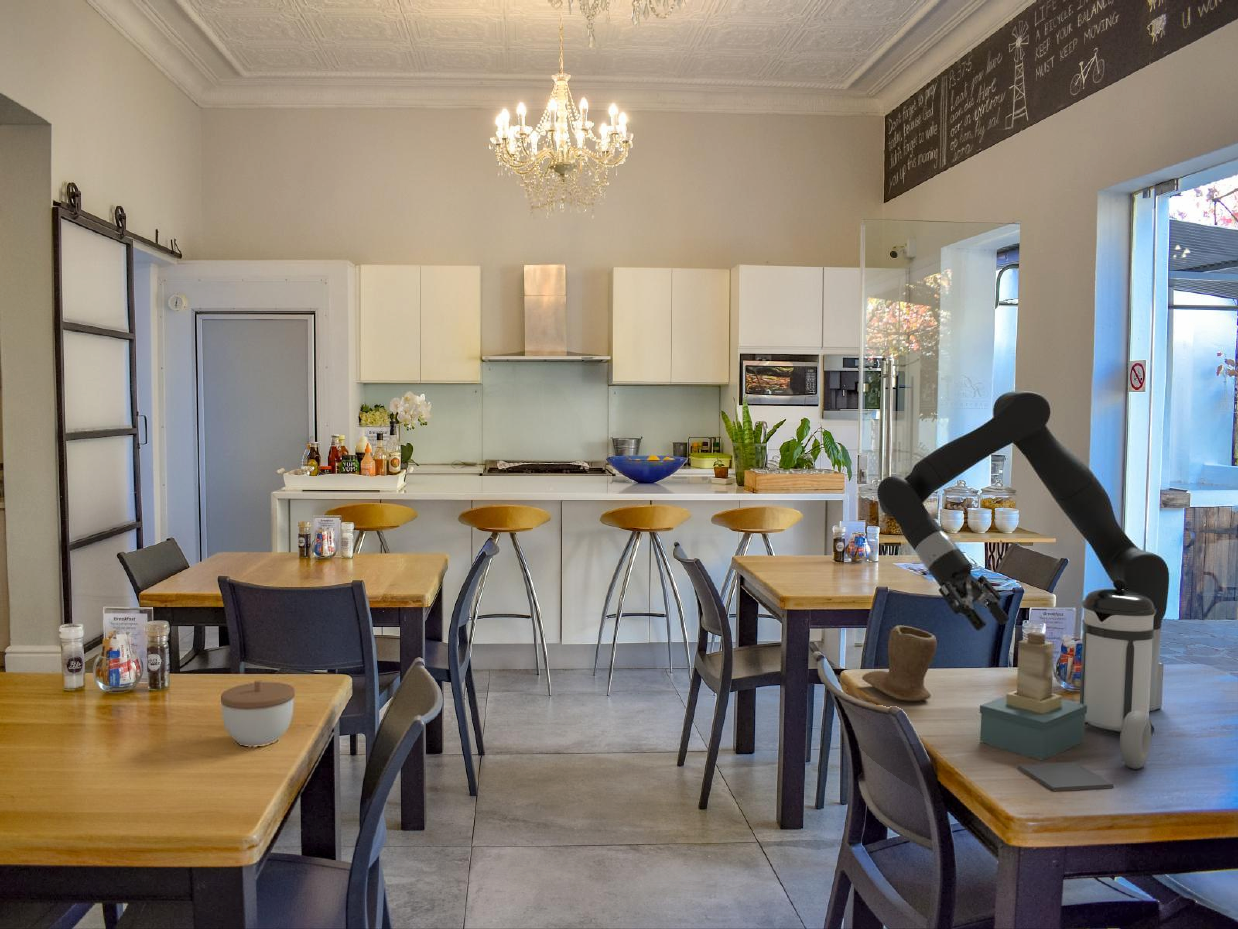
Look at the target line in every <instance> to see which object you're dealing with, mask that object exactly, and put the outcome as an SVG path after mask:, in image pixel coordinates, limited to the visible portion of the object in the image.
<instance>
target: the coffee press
mask: <svg viewBox="0 0 1238 929" xmlns="http://www.w3.org/2000/svg"><path fill="white" fill-rule="evenodd" d="M1112 585H1113V588H1115V589H1112V588H1105V589H1097V590H1093V591H1090V592H1089V593H1088V594H1087V595H1086V596H1085V598H1084V600H1082V601H1081V606H1082V609H1083V619H1082V620H1081V631H1082V642H1081V644H1082V645H1081V662H1080V663H1081V665H1080V666H1081V667H1080V688H1079V690H1080V692H1079V703H1080V704H1084V705H1087V713H1086V714H1085V726H1087V725H1092V726H1094V727H1096V728H1097V727H1098V728H1100V729H1105V730H1109V731H1110V730H1111V731H1117V732H1118V733H1120V735H1121V728H1122V724H1123V721H1124V718H1125V717H1126V715H1127V714H1128V713H1129V712H1132V711H1141V712H1143V713H1144V714H1145V715H1146V716H1147V717H1148V719H1149V720H1150V711H1149V701H1150V681H1151V660H1152V639H1153V638H1154V627H1153V619H1154V615H1155V614H1156V608H1155V607H1154V606H1153V603H1152V601H1151V600H1150V599H1149V598H1148V597H1146V596H1145V595H1142V594H1140V593H1136V592H1132V591H1126V590H1123V589H1124V588H1125V587H1126V582H1125V581H1124V580H1123V579H1120V578H1119V579H1116V580H1115V581H1114V582H1112ZM1150 726H1151V734H1152V733H1154V732H1155V726H1154V725H1153V724H1152V722H1151V721H1150Z"/></svg>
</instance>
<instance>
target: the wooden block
mask: <svg viewBox="0 0 1238 929" xmlns="http://www.w3.org/2000/svg"><path fill="white" fill-rule="evenodd" d="M1054 644H1055V642H1052V641H1051V642H1050V641H1047V640H1046V634H1044V633H1041V632H1028V633H1027V639H1023V640H1019V641H1018V647H1017V648H1018V649H1017V650H1018V651H1017V674H1016V675H1017V676H1016V690H1017V695H1019V696H1023V697H1027V698H1031V699H1035V700H1039V701H1043V700H1046V699H1048V698H1051V697H1052V694H1053V677H1054V654H1055V653H1054V652H1055V651H1054V649H1055V645H1054Z"/></svg>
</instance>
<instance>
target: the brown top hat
mask: <svg viewBox="0 0 1238 929" xmlns="http://www.w3.org/2000/svg"><path fill="white" fill-rule="evenodd" d="M888 637H889V638H888V646H887V653H888V654H887V656H888V664H889V665H888V666H889V668H888V669H889V670H888V671H886V670H885V671H884V670H874V671H869V672H867V673H864V674H863V675H862V677H861V679H862V681H865V683H867V684H869V685H870V686H871V687H874V689H877V690H879V691H880V692H882V693H883V694H886V695H887V696H890V697H892V698H894V699H897V700H901V701H907V702H918V701H919V702H920V701H925V700H928V699H930V698H931V697H932V696H931V693H930V692H929V690H928V689H927V688H926V686H925V684H924V683H925V682H924V680H925V677H926V675H927V672H928V670H929V668H930V666H931V664H932V662H933V659H934V657H935V654H936V652H937V648H938V642H937V638H936V636H935V635H934V634H932V633H930V632H928V631H925V630H922V629H919V628H915V627H913V626H907V625H900V624H899V625H896V626H894V627H893V628H892V629H891V630H890V633H889V636H888Z"/></svg>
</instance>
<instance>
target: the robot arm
mask: <svg viewBox="0 0 1238 929" xmlns="http://www.w3.org/2000/svg"><path fill="white" fill-rule="evenodd" d="M992 414H993V415H992V416H993V417H992V418H991V419H989V420H988V421H987V422H985V423H984V424H982V425H980V426H979V427H977V428H976V429H973V430H972V431H970V432H967V433H965V434H964V435H962V436H959V437H957V438H955V439H953V440H951V441H949V442H948V443H945V444H943V445H942V446H940V447H938V448H937V449H935V450H934V451H933V452H931V453H929V454H928V455H926V456H925V457H923V458H922V459H921V460H918V462H916V463H915V464H914V466H913V467H912V469H911V472H910V473H909V474H908V475H907V476H906V477H904V478H903V477H901V476H895V475H892V476H887V477H885V478H883V479H882V480H881V481H880V483H879V484H878V487H877V491H876V492H877V499H878V503H879V507H880V509H881V511H882V512H883V514H885V515H886V516H888V517H890V518H893V519H894V521H895V522H896V523H897V525H898V526H899V528H900V530H901V533H902V535H903V536H904V538H905V539H906V541H907V543H909V545H910V546H911V548H912V549H913V550H914V552H915V553H916V556H918V558H919V560H920V562H921V563H922V564H923V566H924V568H925V569H926V570H927V571H928V572H929V574H930V575H931V577H932V578H934V580H935V581H936V583H937V584H938V585H939V587H940V588H939V589H938V592H939V593H940V595H941V596H942V597H943V599H944V600H945V602H946V603H947V604H948V606H949V607H950V609H951V610H952V612H953V613H954V614H955V615H958V614H961V615H962V616H965V617H966V619H967V620H968V621H969V623H970V624H971V626H973V627H974V629H975V630H976V631H981V630H982V629H984V628H985V627H986V626H987V623H986V621H985V620H984V619H983V617H982V616H981V614H980V613H979V612H978V611H977V610H976V608H974V605H973V604H974V603H976V604H977V605H982V606H984V607H985V608H986V609H987V610H988V611H989V613H990V614H991V616H993V618H994V619H995V620H996V622H997V623H998V624H999V625H1000V626H1001V625H1005V624H1006V623H1007V622H1008V621H1009V620H1010V617H1009V616H1008V614H1007V613H1006V612H1005V610H1004V609H1003V607H1001V605H1000V604H999V603H1000V601H1001V600H1002V598H1003V597H1002V596H1001V595H1000V594H999V592H998V591H997V590H996V588H995V587H994V586H993V585H992V584H991V583H990V582H989V581H988V579H987V578H986V576H984V575H983V574H981V575H980V576H979V577H977V578H976V577H974V575H973V574H972V573H971V571H972V570H973V564H972V563H971V562H970V561H969V559H968V558H967V557H966V556H965V554H964V553H963V551H962V550H961V549H960V548H959V546H958V545H957V544H956V543H955V542H954V540H953V539H952V537H950V536H949V535H948V534H947V533H946V532H945V531H944V530H943V528H942V527H941V525H940V524H939V523H938V522H937V521H936V519H935V518H934V517H933V516H932V515H931V514H930V513H929V511H928V510H927V508H926V506H925V505H924V502H925V501H927V499H928V498H929V497H930V496H931V495H933V493H934V492H935V491H937V490H939V489H940V488H942V487H944V486H945V485H946V484H948V483H950V482H951V481H953V480H954V479H956V478H957V477H959V476H960V475H961V474H963V473H965V472H966V471H967V470H970V469H971V468H972V467H973V466H975V465H976V464H978V463H980V462H982V461H983V460H985V459H986V458H988V457H989V456H991V455H992V454H994V453H996V452H998V451H1001V449H1004V448H1005V447H1007V446H1010V445H1011V444H1014V445H1015V447H1016V448H1017V449H1018V450H1019V451H1020V452H1021V453H1022V455H1023V456H1024V457H1025V458H1026V459H1027V461H1028V463H1029V464H1030V465H1031V468H1032V469H1033V470H1034V472H1035V473H1036V475H1037V476H1038V478H1039V480H1040V481H1041V482H1042V483H1043V485H1044V486H1045V488H1046V489H1047V490H1048V491H1049V494H1050V495H1051V496H1052V498H1053V500H1055V502H1056V503H1057V505H1058V506H1059V508H1060V509H1061V510H1062V511H1063V513H1064V514H1065V515H1066V516H1067V517H1068V519H1069V520H1070V522H1072V524H1073V525H1074V526H1075V528H1076V530H1077V531H1078V532H1079V533H1080V534H1081V535H1082V536H1083V538H1084V539H1085V540H1086V541H1087V543H1088V544H1089V545H1090V547H1091V548H1092V551H1094V553H1095V555H1096V557H1097V559H1098V561H1099V562H1100V564H1101V566H1102V568H1103V569H1104V571H1105V572H1106V574H1107V576H1108V577H1109V579H1110V581H1111V582H1112V583H1113V582H1114V581H1115V580H1116V579H1119V578H1120V579H1123V580H1124V581H1125V582H1126V587H1125V588H1124V589H1122V590H1126V591H1132V592H1136V593H1140V594H1142V595H1145V596H1146V597H1148V598H1149V599H1150V600H1151V601H1152V603H1153V606H1154V607H1155V608H1156V614H1155V615H1154V619H1153V627H1154V638H1153V639H1152V660H1151V681H1150V701H1149V712H1152V711H1156V710H1158V709H1162V706H1163V684H1164V665H1165V664H1164V663H1163V662H1160V657H1161V633H1162V622H1163V619H1164V617H1165V615H1166V613H1167V607H1168V599H1169V586H1170V572H1169V567H1168V564H1167V563H1166V561H1165V560H1164V559H1163V558H1162V557H1161V556H1160V555H1158V554H1156V553H1153V552H1150V551H1147V550H1143V549H1140V548H1139V547H1138V546H1137V545H1136V544H1135V543H1134V542H1133V541H1132V540H1131V539H1130V538H1129V536H1128V535H1127V534H1126V532H1124V530H1123V529H1122V528H1121V526H1120V525H1119V523H1118V521H1117V519H1116V516H1115V513H1114V508H1113V505H1112V502H1111V499H1110V497H1109V494H1108V492H1107V491H1106V490H1105V488H1104V486H1103V485H1102V484H1101V483H1100V481H1099V479H1098V477H1097V476H1095V474H1094V473H1093V472H1092V470H1091V469H1090V468H1089V467H1088V466H1087V465H1086V464H1085V463H1084V462H1083V461H1082V460H1081V459H1080V458H1078V456H1077V455H1075V454H1074V453H1073V452H1071V451H1070V450H1069V449H1068V448H1067V447H1066V446H1064V444H1062V443H1061V442H1060V441H1059V440H1057V438H1056V437H1055V436H1054V435H1053V434H1052V432H1051V430H1050V428H1048V426H1047V423H1048V422H1049V420H1050V418H1051V407H1050V403H1049V401H1048V400H1047V399H1046V398H1045V396H1043V395H1042V394H1040V393H1038V392H1035V391H1030V390H1029V391H1028V390H1014V391H1009V392H1006V393H1004V394H1001V395H1000V396H999V397H998V398H997V399H996V400H995V402H994V404H993V408H992Z"/></svg>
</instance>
